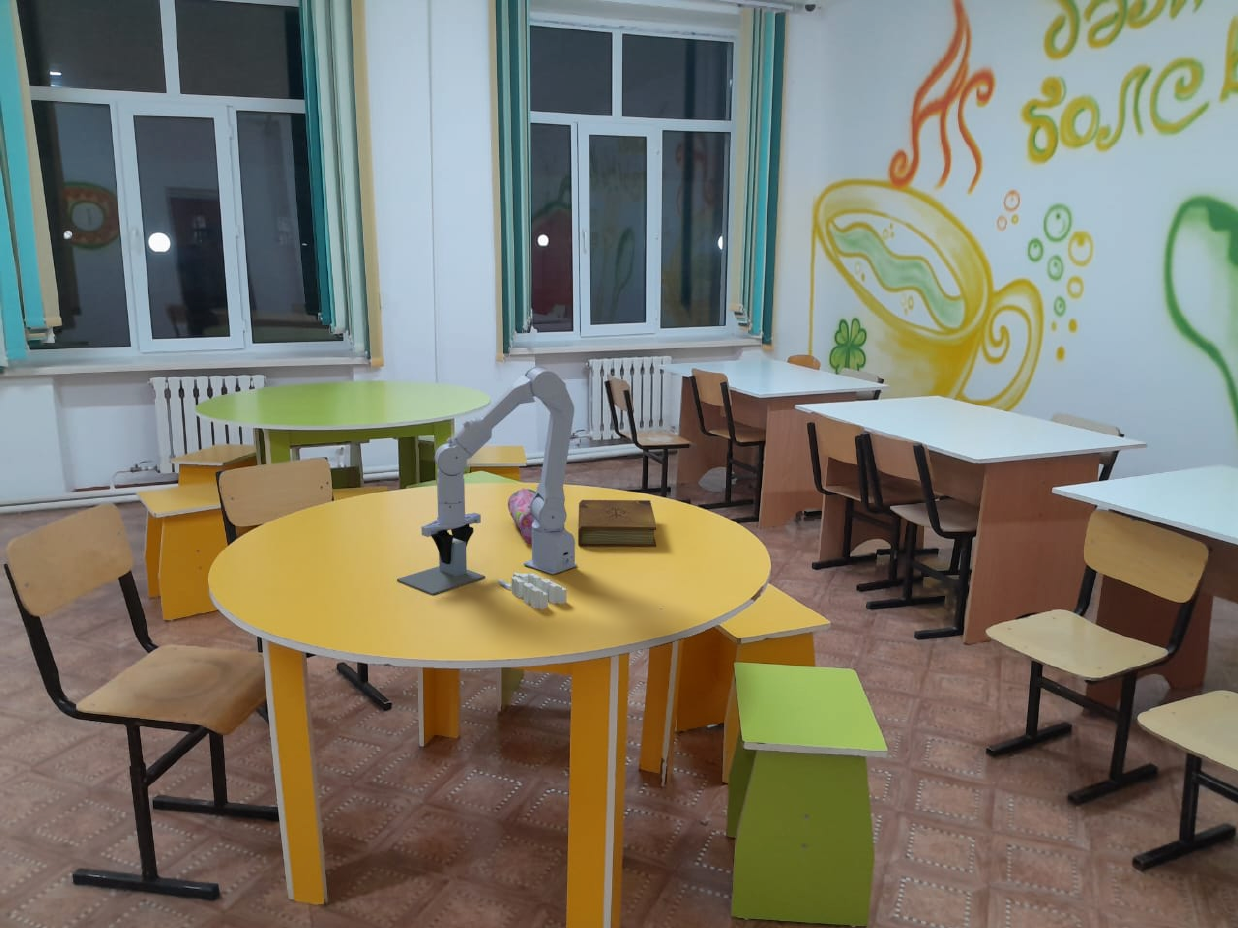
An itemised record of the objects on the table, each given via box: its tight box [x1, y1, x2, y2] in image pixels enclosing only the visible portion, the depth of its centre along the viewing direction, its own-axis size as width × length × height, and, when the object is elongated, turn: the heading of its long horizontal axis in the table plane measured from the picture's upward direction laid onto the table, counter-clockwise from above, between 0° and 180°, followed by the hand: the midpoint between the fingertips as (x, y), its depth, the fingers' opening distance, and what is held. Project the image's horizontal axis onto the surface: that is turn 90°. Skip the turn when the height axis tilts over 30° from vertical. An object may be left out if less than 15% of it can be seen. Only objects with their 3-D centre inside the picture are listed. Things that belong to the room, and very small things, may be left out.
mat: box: [396, 565, 486, 596], centre depth 192 cm, size 12×14×1 cm
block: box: [438, 538, 468, 576], centre depth 195 cm, size 6×3×7 cm, turn 49°
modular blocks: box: [497, 572, 568, 610], centre depth 186 cm, size 20×7×4 cm, turn 39°
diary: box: [577, 499, 658, 548], centre depth 226 cm, size 23×19×6 cm
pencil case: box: [507, 488, 536, 545], centre depth 225 cm, size 21×9×9 cm, turn 14°
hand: (452, 560), depth 195 cm, fingers closed on block, 3 cm apart
